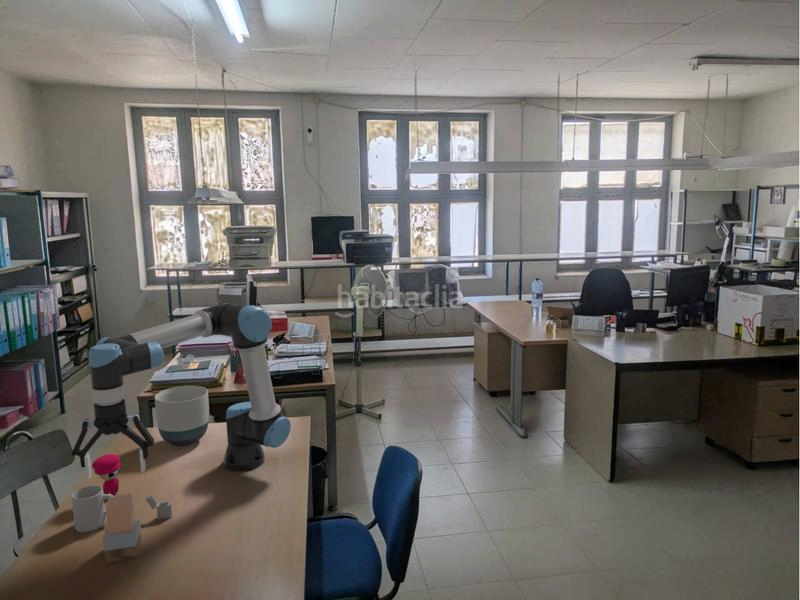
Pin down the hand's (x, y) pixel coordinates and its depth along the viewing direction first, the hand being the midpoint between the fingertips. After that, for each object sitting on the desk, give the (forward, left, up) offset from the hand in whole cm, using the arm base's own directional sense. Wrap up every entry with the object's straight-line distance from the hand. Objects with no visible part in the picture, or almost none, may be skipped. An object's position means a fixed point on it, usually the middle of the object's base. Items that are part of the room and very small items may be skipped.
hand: (116, 473), depth 152 cm
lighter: (-8, -15, -24) cm, 29 cm away
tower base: (0, 0, -24) cm, 24 cm away
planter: (-12, -72, -24) cm, 77 cm away
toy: (+10, -34, -24) cm, 42 cm away
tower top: (0, +1, -20) cm, 20 cm away
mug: (+10, -17, -24) cm, 31 cm away
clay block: (0, 0, -16) cm, 16 cm away
